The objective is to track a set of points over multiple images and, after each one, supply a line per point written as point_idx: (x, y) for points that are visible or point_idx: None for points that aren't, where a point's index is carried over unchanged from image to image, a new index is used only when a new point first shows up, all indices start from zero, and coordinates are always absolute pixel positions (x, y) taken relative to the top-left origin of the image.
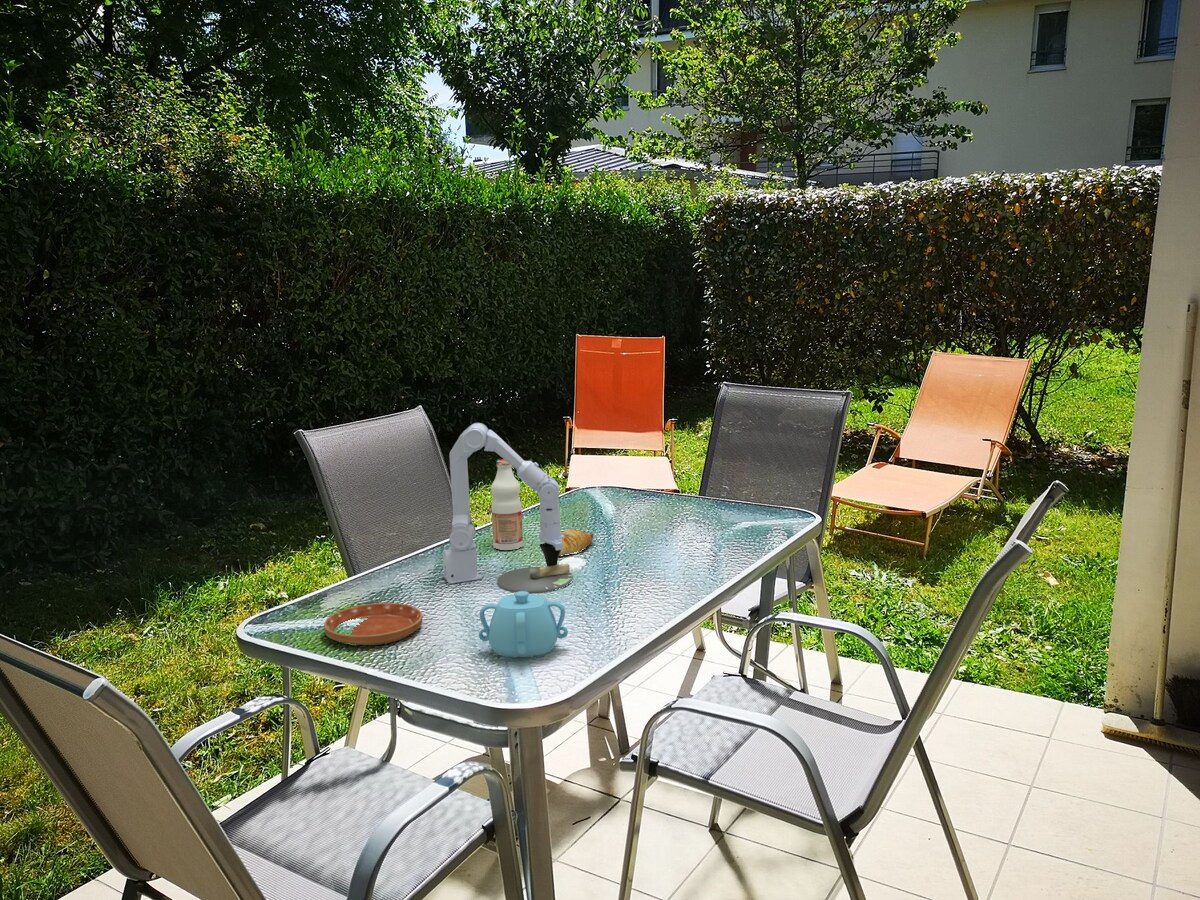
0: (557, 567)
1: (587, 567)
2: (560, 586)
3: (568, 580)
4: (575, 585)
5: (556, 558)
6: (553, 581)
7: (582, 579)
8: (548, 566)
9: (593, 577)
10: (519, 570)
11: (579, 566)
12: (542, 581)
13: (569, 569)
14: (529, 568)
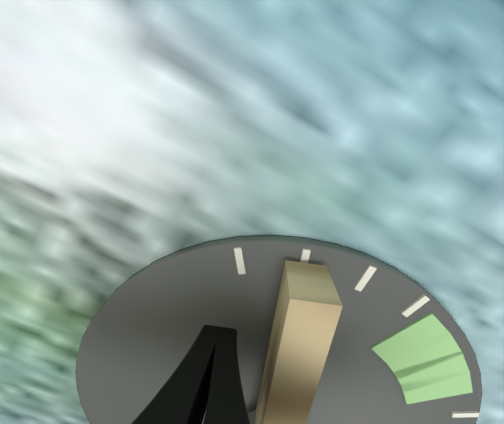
0: (316, 381)
1: (195, 19)
2: (480, 392)
3: (445, 330)
4: (491, 300)
5: (236, 410)
6: (384, 386)
7: (432, 212)
8: (269, 421)
9: (462, 120)
10: (110, 415)
11: (137, 71)
12: (341, 417)
13: (332, 281)
14: (97, 375)
